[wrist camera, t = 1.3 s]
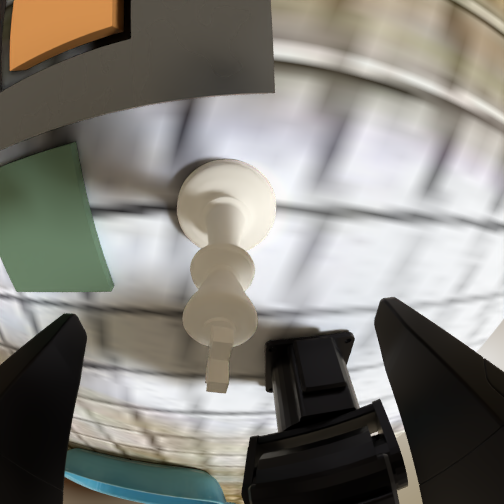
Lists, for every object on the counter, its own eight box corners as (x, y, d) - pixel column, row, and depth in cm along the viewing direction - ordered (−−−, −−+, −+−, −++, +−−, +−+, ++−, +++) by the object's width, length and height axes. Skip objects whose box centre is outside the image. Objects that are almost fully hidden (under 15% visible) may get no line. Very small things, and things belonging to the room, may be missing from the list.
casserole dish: (90, 467, 45) (85, 490, 39) (41, 430, 34) (32, 460, 28) (239, 486, 47) (240, 513, 41) (234, 462, 35) (235, 501, 29)
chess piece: (286, 170, 13) (371, 319, 5) (263, 256, 16) (289, 432, 7) (184, 151, 13) (89, 280, 4) (173, 241, 15) (122, 415, 7)
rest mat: (114, 285, 16) (111, 291, 16) (20, 286, 16) (16, 291, 16) (75, 141, 12) (70, 143, 11) (-20, 175, 11) (-26, 178, 11)
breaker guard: (263, 93, 11) (274, 92, 8) (-3, 152, 11) (-47, 174, 8) (252, -94, 5) (257, -134, 2) (-3, -10, 5) (-42, -14, 1)
